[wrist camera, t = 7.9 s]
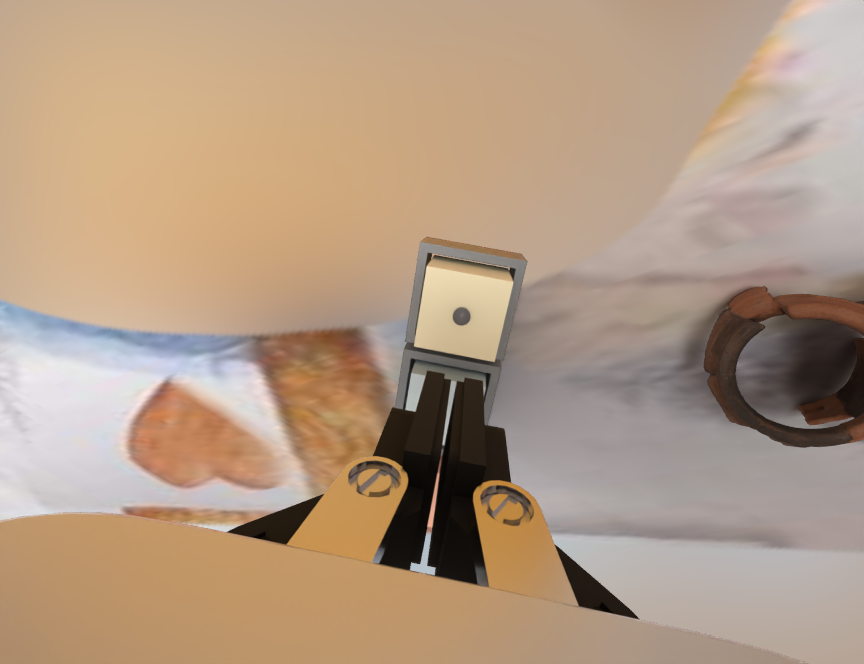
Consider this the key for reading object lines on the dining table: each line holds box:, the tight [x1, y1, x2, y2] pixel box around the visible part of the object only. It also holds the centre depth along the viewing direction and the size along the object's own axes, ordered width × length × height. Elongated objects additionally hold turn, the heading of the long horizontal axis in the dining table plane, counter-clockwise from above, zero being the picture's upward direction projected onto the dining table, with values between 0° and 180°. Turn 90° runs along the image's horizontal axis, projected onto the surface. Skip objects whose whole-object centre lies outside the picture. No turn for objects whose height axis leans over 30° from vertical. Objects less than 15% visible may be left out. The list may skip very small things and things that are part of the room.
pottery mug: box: [704, 286, 864, 447], centre depth 22 cm, size 12×10×8 cm
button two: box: [405, 359, 486, 445], centre depth 26 cm, size 4×4×4 cm
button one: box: [414, 255, 513, 362], centre depth 22 cm, size 4×4×4 cm
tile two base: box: [395, 342, 501, 425], centre depth 27 cm, size 6×6×3 cm
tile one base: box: [405, 237, 527, 360], centre depth 24 cm, size 6×6×3 cm
